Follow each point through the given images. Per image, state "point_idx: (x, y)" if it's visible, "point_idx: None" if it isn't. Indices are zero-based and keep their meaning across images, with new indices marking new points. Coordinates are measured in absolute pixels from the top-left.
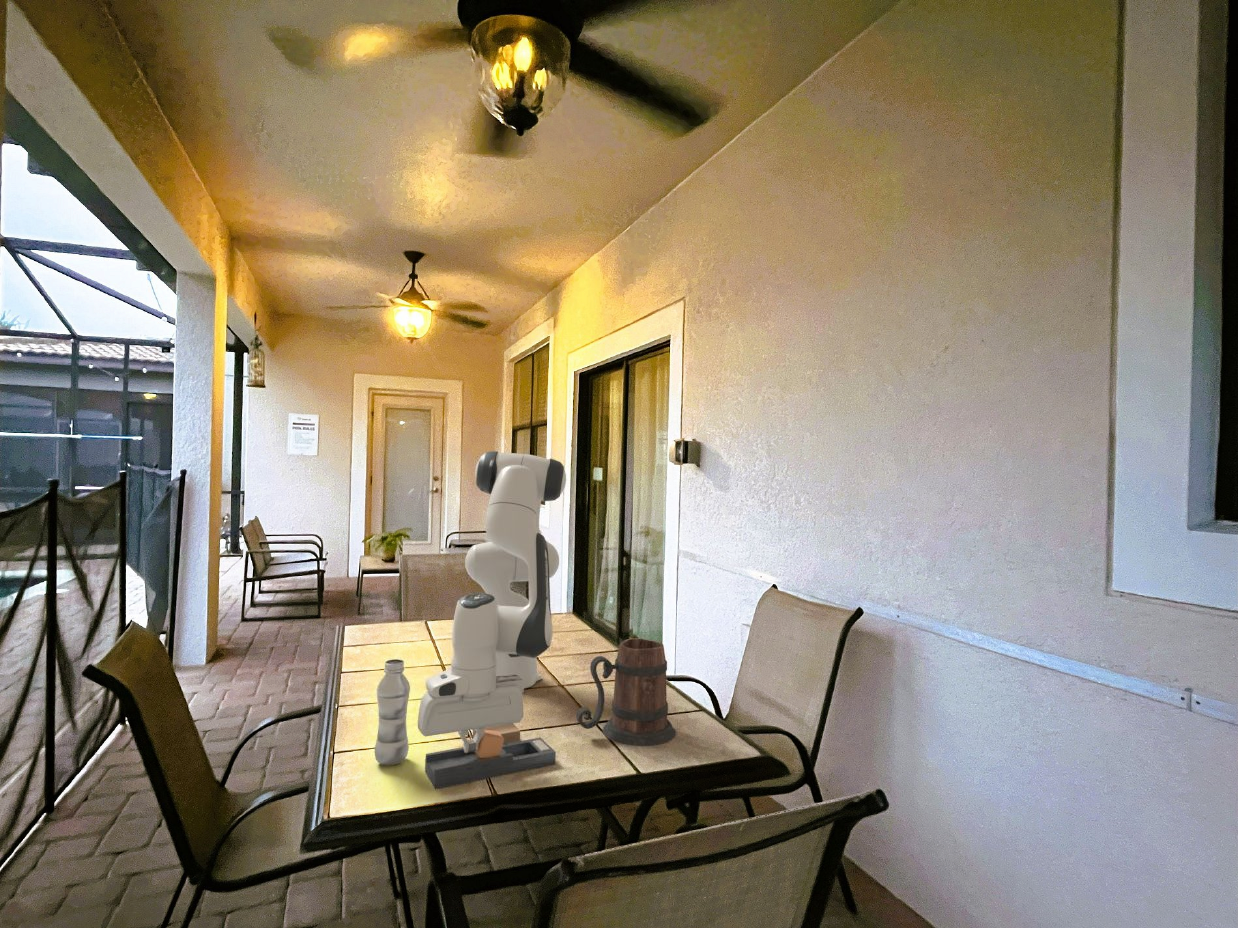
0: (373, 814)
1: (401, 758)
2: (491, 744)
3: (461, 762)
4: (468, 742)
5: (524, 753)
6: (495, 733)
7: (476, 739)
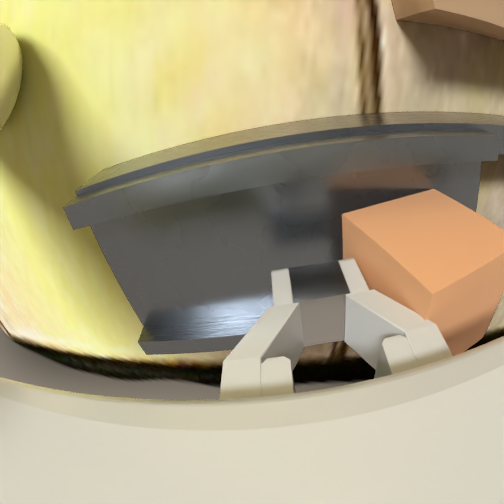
0: (65, 353)
1: (3, 121)
2: None
3: (256, 268)
4: (298, 355)
5: None
6: (488, 296)
7: (357, 346)
